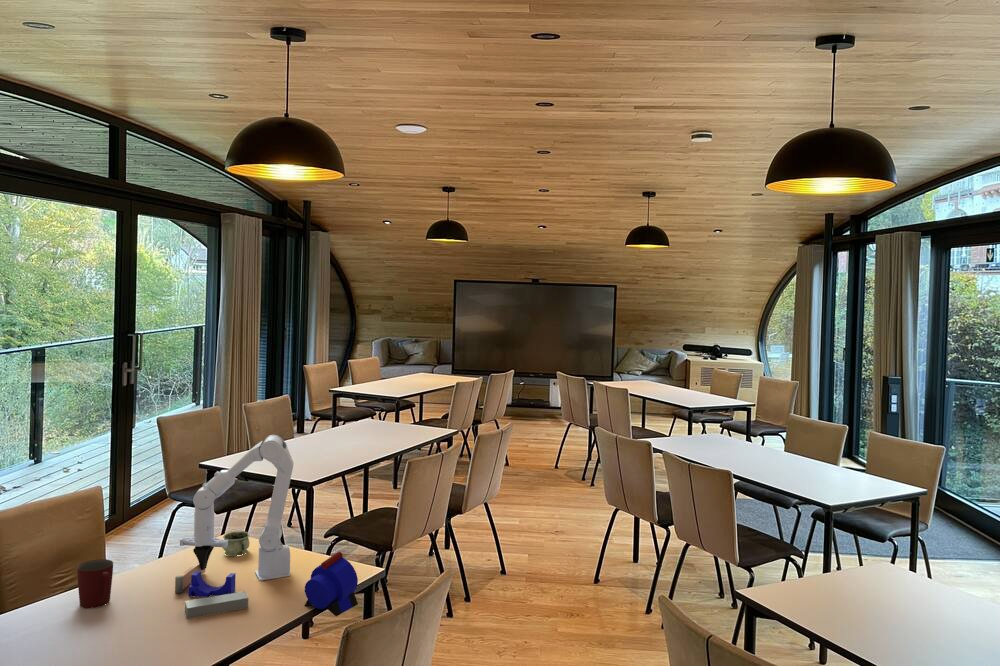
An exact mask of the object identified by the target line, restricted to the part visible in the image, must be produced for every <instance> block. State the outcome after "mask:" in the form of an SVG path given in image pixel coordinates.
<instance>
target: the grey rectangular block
mask: <svg viewBox="0 0 1000 666" xmlns="http://www.w3.org/2000/svg"><path fill="white" fill-rule="evenodd" d="M244 609H249V596H248V595H247V592H246V591H245V590H244V591H238V592H235V593H231V594H225V595H219V596H213V595H212V596H210V597H200V598H196V599H191V600H190V599H189V600H185V601H184V613H185V616H186V620H188V619H190V620H191V619H195V618H200V617H206V616H211V615H218V614H222V613H228V612H235V611H240V610H244Z"/></svg>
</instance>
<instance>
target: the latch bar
mask: <svg viewBox="0 0 1000 666" xmlns="http://www.w3.org/2000/svg"><path fill="white" fill-rule="evenodd" d="M196 571H201V575H202V576H203V574H205V573H206V568H205V569H204V570H201V568H200V564H199V561H197V562H196V563H195V564H194V565H192V566H190V567H189V568H188V569H187V570H185V571H184V572H183V573H181V574H179V575H176V576H175V577H174V578H175V580H174V593H175V594H179V593H182V592H183V590H184V589H185V588H187V587H189V586H190V585H191V575H192V574H193V573H194V572H196Z"/></svg>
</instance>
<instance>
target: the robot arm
mask: <svg viewBox="0 0 1000 666" xmlns="http://www.w3.org/2000/svg"><path fill="white" fill-rule="evenodd" d="M263 460H266V461H267V462H269V463H271V464H272V465H273V467H275V469H276V470H277V472H276V477H275V481H274V485H273V490H272V495H271V499H270V505H269V509H268V513H267V518H266V523H265V525H264V526H263V528H262V530H261V535H260V536H259V539H258V544H259V545H258V562H257V563H258V566H257V569H256V570H254V574H255V576H257V578H258V580H259V581H260V582H261V581H266V580H273V579H279V578H285V577H290V576H291V549H290V547H289V545H288V544H283V543H282V541H281V537H282V536H283V527H282V520H283V516H284V512H285V506H286V502H287V501H286V500H287V497H288V492H289V489H290V488H289V487H290V484H291V478H292V474H293V470H294V461H293V459H292V455H291V453H290V451H289V448H288V445H287V442H286V441H284V439H283V438H282V437H281V436H279V435H276V434H270V435H268V436H266V437H265V439H264V441H263V440H261V441H260V442H258V443H257V444H255V445H254V446H253V447H252V448H251V449H250V448H249V450H248V451H247V452H246V453H245V454H244V455H243V456H241V458H240V459H239V460H237V461H236V462H235V463H234V464H233V465H232V466H231V467H230V468H229V469H221V470H220V471H218V470H217V471H216V472H215V473H214V474H213V475H214V476H213V477H212V478H210V480H208V481H207V482H204V483H203V484H201V485H202V487H200V488H199V489H198V490H197V491H196V493H195V494H194V496H193V499H192V502H193V505H194V515H193V516H194V517H193V518H194V522H193V526H194V527H193V530H194V531H193V532H194V533H193V537H181V538H180V539H179V546H180V547H181V546H182V547H183V546H190V547H191V546H193V547H194V548H193V549H192V550H193V553H194V555H195V556H196V558H197V562H199V564H200V568H201V570H204V569H205V570H206V569H207V565H208V561H209V559H210V556H211V554H212V552H213V550H214V548H222V549H223V548H226V547H227V546H228V540H224V539H223V538H222V539H221V538H217V537H215V510H214V509H215V503H214V502H215V501H216V499H218V498H220V497H221V496H222V495H223V494H224V493H225V492H226V491H228V489H230V488H231V487H232V486H233V485H235V482H236V477H237V476H238V475H240V474H241V473H242V472H244V470H246V469H247V468H248V467H249V466H250V465H252V464H253V463H255V462H263Z"/></svg>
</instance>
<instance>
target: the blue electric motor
mask: <svg viewBox="0 0 1000 666" xmlns="http://www.w3.org/2000/svg"><path fill="white" fill-rule="evenodd" d="M358 582H359V578H358V575H357V572H356V569H355V568H354V566H353V565H352V564H351V562H350V561H348V560H347V559H346V558H344V557H343V553H342V551H337V552H336V553H334V554H333V555H331V556H330V557H328V558H327V559H326V560H324V561H322V562H321V563H320V564H319V565H318V566H317V567H315V568H314V569H313V570H312V571H311V575H310V579H309V580H308V581H306V583H305V584H304V594H305V597H306V599H307V600H306V602H305V603H304V607H306V606H309V605H311V606H313V607H314V608H316V609H319V610H323V609H327V610H328V611H329V612H330V613H331V614H332V615H333V616H334V617H338V616H340V615H341V614H343V613H346V612H347V611H349V610H351V609H352V608H354V607H356V606H358V605H359V603H358V600H357V597H356V595H355V591H356V590H357V587H358Z"/></svg>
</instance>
